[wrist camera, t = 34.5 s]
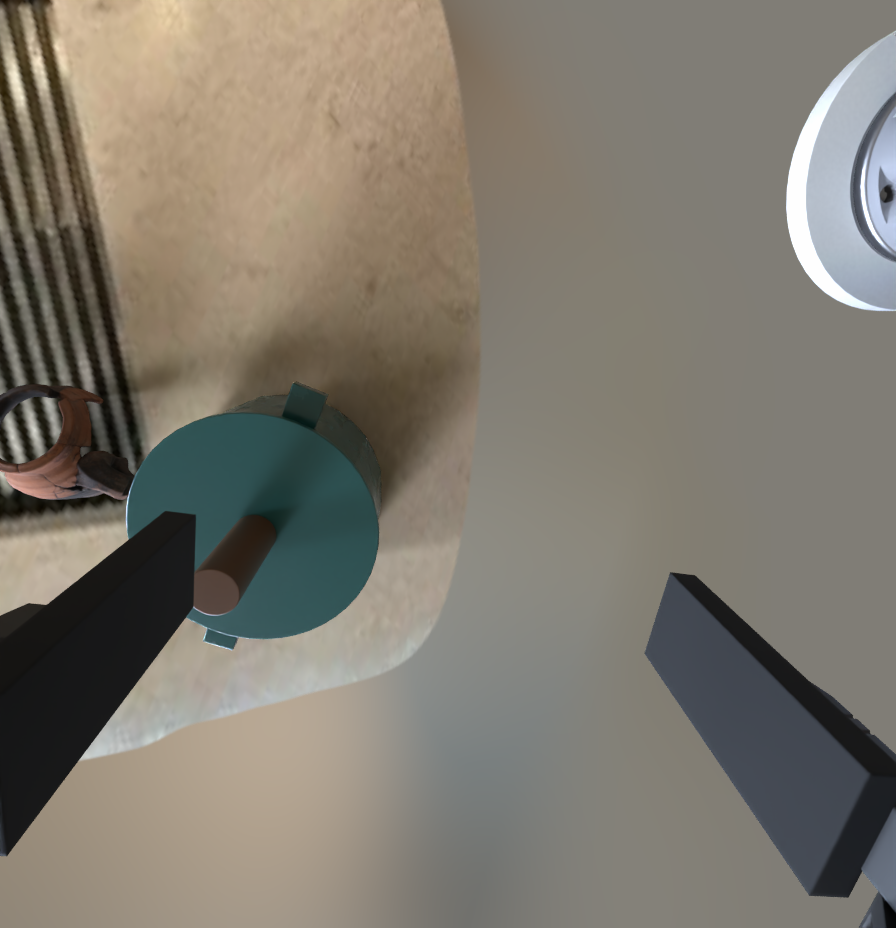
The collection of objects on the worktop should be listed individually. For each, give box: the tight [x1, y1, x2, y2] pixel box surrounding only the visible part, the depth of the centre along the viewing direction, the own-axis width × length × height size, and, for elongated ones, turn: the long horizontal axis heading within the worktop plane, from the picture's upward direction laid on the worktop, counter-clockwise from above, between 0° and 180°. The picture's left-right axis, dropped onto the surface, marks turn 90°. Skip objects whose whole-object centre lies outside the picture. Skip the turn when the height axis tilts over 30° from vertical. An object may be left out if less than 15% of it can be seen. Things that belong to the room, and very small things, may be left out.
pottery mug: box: [0, 384, 135, 499], centre depth 42 cm, size 12×10×8 cm
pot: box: [203, 382, 381, 650], centre depth 42 cm, size 17×22×10 cm
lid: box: [126, 411, 379, 639], centre depth 33 cm, size 18×18×9 cm
